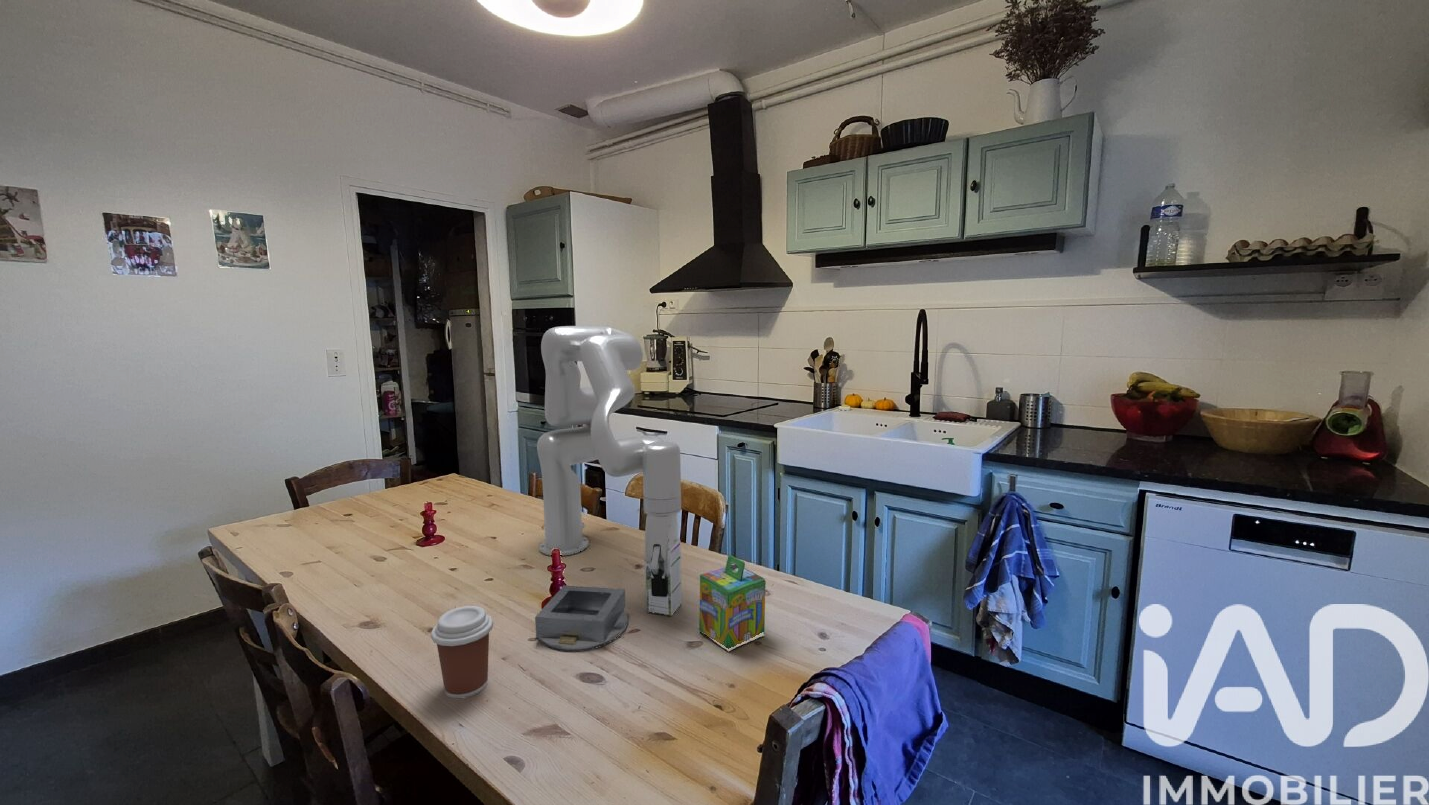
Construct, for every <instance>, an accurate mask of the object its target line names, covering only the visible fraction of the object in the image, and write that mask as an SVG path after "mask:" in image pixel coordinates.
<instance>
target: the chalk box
mask: <svg viewBox="0 0 1429 805" xmlns="http://www.w3.org/2000/svg"><path fill="white" fill-rule="evenodd" d="M745 566H746V563H745V561H744V560H741V559H739V558H737V557H735V556H732V555H728V557H727V560H726V564H725V567H722V568H721V567H720V568H718V569H715V570H711V571H709V572H705V573H703V574H700V575H699V613H698V615H699V619H698V621H699V623H698V626H699V627H698V631H699V630H700V631H701V632H703V633H705V634H706V635H708V636H709V637H711V638H712V639H714V640H716V641H717V642H719V643H720V644H722V645H724V646H725V647H726V648H728V649H729V648H731V647H734V646H736V645H737V644H741V643H742V642H744V641H747V640H749V639H750V638H753V637H755V636H756V635H759V634H760V633H762V632H764V633H765V625H766V624H765V618H766V584H767V582H766V579H765V578H764V577H763V576H760V575H759V574H757V573H755V572H753V571H751V570H749V569H748V568H746V567H745ZM701 632H700V633H701Z"/></svg>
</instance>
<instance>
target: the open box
mask: <svg viewBox="0 0 1429 805" xmlns="http://www.w3.org/2000/svg"><path fill="white" fill-rule="evenodd" d="M625 609H626V590H625V588H615V587H614V588H613V587H596V586H583V585H582V586H581V585H563V586H561V588H560V589H559V590H558V592H556V594H554V595H553V597H552V598H551V599H550V600H549V601H548V602H547V604H545V605H544V607H543V608H542V609H541V610H540V611H539V612H538V613H537V614H536V616H535V617H534V619H535V620H534V621H535V624H534V625H535V637H536V638H537V639H538V640H539V642H540V641H541V642H542V643H541V642H540V643H541V644H543V645H544V646H545V647H547V648H549V647H550V648H549V649H553V650H555V651H560V650H563V651H562V652H582V651H581V650H585V651H589V650H593V649H592V648H594V649H597V648H596V647H598V648H600V647H599V646H601V647H604V646H605V645H604V644H606V645H608V644H610V643H611V642H610V641H612V642H614V641H615V640H614V639H615V638H617V637H618V636H619V635H621V634H622V632H623V631H624V630H625V629H627V627H628V615H627V613H626V611H625ZM626 626H627V627H626ZM625 631H626V630H625ZM625 631H624V632H625ZM622 635H623V634H622ZM622 635H621V636H622ZM618 638H619V637H618ZM618 638H617V639H618ZM613 640H614V641H613ZM609 642H610V643H609ZM607 643H608V644H607ZM603 645H604V646H603Z"/></svg>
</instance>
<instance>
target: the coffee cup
mask: <svg viewBox="0 0 1429 805" xmlns="http://www.w3.org/2000/svg"><path fill="white" fill-rule="evenodd" d="M493 627H494V619H493V618H492V617H491V615H490V614H487V612H486V610H485V609H484V608H483V607H481V606H478V605H465V606H458V607H455V608H452V609H450V610H448V611H446V612H444V613H443V614H442V615H441V616H440V617H439V618H438V619H437V623H436V625H435V626H433V628H432V630H431V632H430V638H431V641H432V642H433V643H434V644H436V646H437V647H436V648H437V654H438V659H439V660H438V661H439V666H440V670H441V676H442V681H443V683H442V684H443V689H444V693H445V696H447V697H449V696H450V697H449V698H450V699H458V698H460V699H464V698H463V697H466V698H469V697H468V696H470V697H471V696H474V695H473V694H475V695H477V694H479V693H480V692H482V691H483V690H484V689H485V688H486V687H485V686H488V683H489V647H490V646H489V644H490V643H489V642H490V632H491V631H492V630H493ZM487 682H488V683H487ZM484 687H485V688H484ZM481 690H482V691H481ZM476 693H477V694H476Z"/></svg>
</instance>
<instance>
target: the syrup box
mask: <svg viewBox="0 0 1429 805" xmlns="http://www.w3.org/2000/svg"><path fill="white" fill-rule="evenodd" d="M681 547H682V545H681V539H680V538H678V539H676V540H675V542H674V544H673V545H672V548H671V550H670V559H669V563H667V564H666V577H668V595H667V597H657V596H652V592H651V562H652V560H651V561H650V563H646V562H645V561H644V562H645V563H644V564H645V566H644V567H645V599H646V600H645V602H646V606H645V607H646V613H649V612H654V613H653V614H655V613H659V614H658V615H661V614H664V615H663V616H667V615H672V616H673V615H674V614H675V613H676V612H677V610H678V609H679V608H680V607H681V606H680V604H681V603H683V601H682V600H683V599H682V573H681V572H682V570H681V569H682V568H681V567H682V566H681V565H682V562H681V561H682V555H681V554H682V552H681V551H682V550H681ZM652 557H653V555H652ZM659 562H664V559H663V558H660V560H659ZM659 568H661V570H663V565H659ZM681 605H682V604H681ZM679 606H680V607H679ZM678 607H679V608H678ZM677 608H678V609H677ZM676 609H677V610H676ZM675 611H676V612H675ZM674 612H675V613H674ZM673 613H674V614H673Z"/></svg>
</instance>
